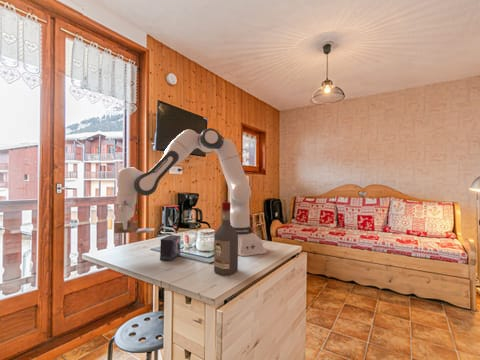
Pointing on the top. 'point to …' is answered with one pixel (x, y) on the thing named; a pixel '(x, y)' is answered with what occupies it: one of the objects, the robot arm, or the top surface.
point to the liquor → (225, 245)
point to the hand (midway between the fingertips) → (126, 228)
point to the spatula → (131, 228)
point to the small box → (170, 247)
